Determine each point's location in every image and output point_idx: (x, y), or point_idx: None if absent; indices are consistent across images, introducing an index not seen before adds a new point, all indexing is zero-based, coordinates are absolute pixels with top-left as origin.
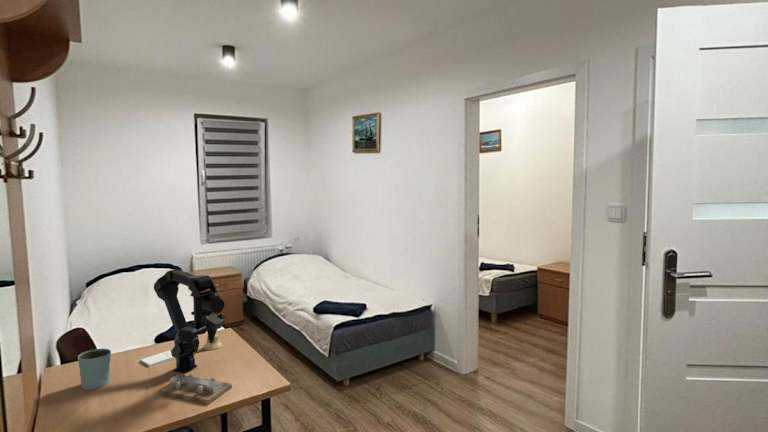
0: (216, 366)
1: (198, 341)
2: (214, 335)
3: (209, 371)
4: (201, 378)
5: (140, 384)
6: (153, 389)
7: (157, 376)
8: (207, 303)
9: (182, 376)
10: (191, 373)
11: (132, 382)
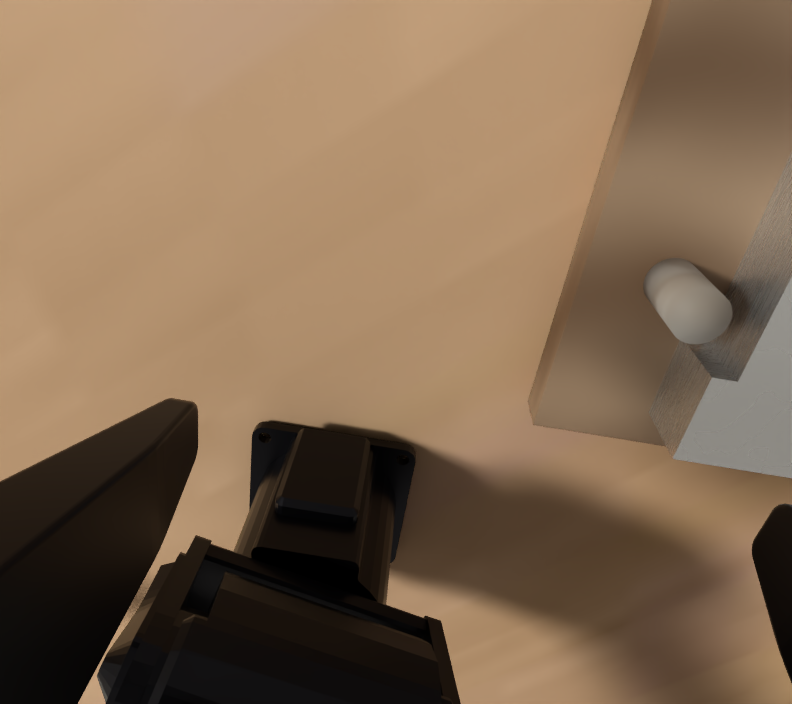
0: (189, 231)
1: (178, 661)
2: (3, 504)
3: (324, 242)
4: (613, 191)
5: (644, 637)
6: (740, 527)
7: (504, 603)
8: None
9: (760, 386)
10: (676, 326)
11: (612, 688)
